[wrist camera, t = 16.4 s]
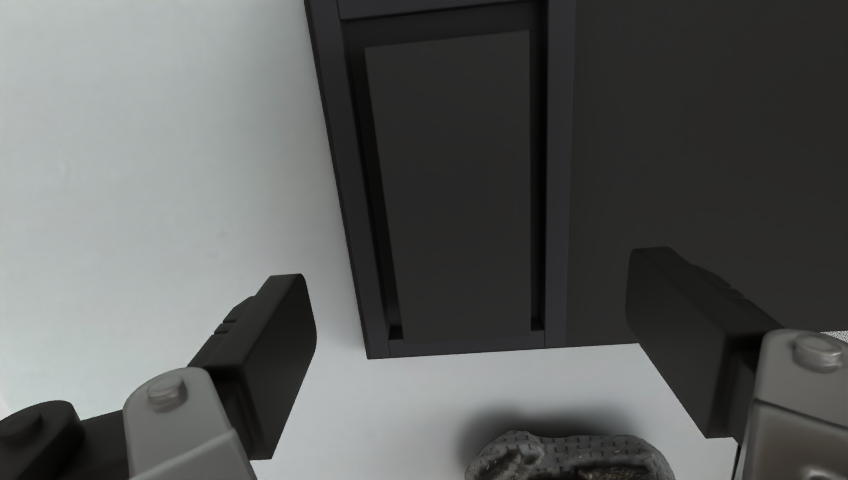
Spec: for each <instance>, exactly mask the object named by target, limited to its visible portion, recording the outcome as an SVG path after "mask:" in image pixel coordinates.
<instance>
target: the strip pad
mask: <svg viewBox="0 0 848 480" xmlns="http://www.w3.org/2000/svg"><path fill="white" fill-rule="evenodd" d="M364 54H365V61H366V69H367V76H368V83H369V90H370V98H371V105H372V112H373V120H374V127H375V134H376V142H377V149H378V156H379V163H380V171H381V178H382V185H383V193H384V200H385V207H386V215H387V222H388V229H389V237H390V244H391V251H392V258H393V266H394V273H395V280H396V288H397V295H398V302H399V310H400V317H401V324H402V331H403V339H404V343H405V344H417V343H433V342H449V341H465V340H481V339H496V338H512V337H528V336H530V335H531V284H530V93H529V31H528V30H523V31H514V32H505V33H495V34H486V35H477V36H467V37H458V38H449V39H439V40H430V41H420V42H411V43H402V44H392V45H383V46H374V47H366V48H364Z"/></svg>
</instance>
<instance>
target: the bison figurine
mask: <svg viewBox="0 0 848 480" xmlns="http://www.w3.org/2000/svg"><path fill="white" fill-rule="evenodd" d="M465 480H675V476H674V473H673V471H672V469H671V467H670V465H669V463H668V462H667V460H666V459H665V457H664V456H663V455H662V453H661V452H660V451H659V450H657V449H656V448H655V447H654V446H652V445H651V444H649V443H647V442H646V441H645V440H643V439H640V438H638V437H635V436H630V435H616V436H586V435H574V436H570V437H564V438H544V437H538V436H534V435H531V434H530V433H529V432H528V431H522V432H519V431H507V432H506V433H505V434H503V435H502V436H500V437H499V438H497V439H495V440H493V441H492V442H490V443H489V444H488V445H486V446H485V447H484V448H483V449H482V450H481V452H480V453H479V454H478V455H477V456H476V457H475V459H474V460H473V461H472V462H471V463H470V465H469V466H468V468H467V469H466V472H465Z"/></svg>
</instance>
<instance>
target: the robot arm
mask: <svg viewBox="0 0 848 480" xmlns="http://www.w3.org/2000/svg"><path fill="white" fill-rule="evenodd" d="M625 316H626V321H627V324H628V327H629V329H630V331H631V333H632V334H633V336H634V337H635V339H636V340H637V341H638V343H639V344H640V346H641V347H642V349H643V350H644V351H645V353H646V354H647V356H648V357H649V359H650V360H651V361H652V363H653V364H654V366H655V367H656V368H657V370H658V371H659V373H660V374H661V376H662V377H663V378H664V380H665V381H666V383H667V384H668V386H669V387H670V388H671V390H672V391H673V393H674V394H675V395H676V397H677V398H678V400H679V401H680V403H681V404H682V405H683V407H684V408H685V410H686V411H687V413H688V414H689V415H690V417H691V418H692V420H693V421H694V422H695V424H696V425H697V427H698V428H699V430H700V431H701V432H702V434H703V435H704V437H705V438H706V439H707V438H727V437H733V438H734V439H735V440H736V442H737V443H738V446H737V450H736V454H735V458H734V464H733V469H732V474H731V480H848V343H847V342H845V341H842V340H840V339H837V338H835V337H832V336H829V335H826V334H822V333H819V332H814V331H809V330H803V329H786V328H785V327H784V326H782V325H781V324H780V323H778V322H777V321H776V320H775V319H773V318H772V317H771V316H769V315H768V314H767V313H766V312H764V311H763V310H762V309H761V308H759V307H758V306H757V305H755V304H754V303H753V302H752V301H750V300H749V299H745V296H744V295H743V294H741V293H740V292H739V291H738V290H736V289H732V286H731V285H730V284H729V283H727V282H726V281H725V280H723V279H722V278H721V277H720V276H718V275H717V274H715V273H713V272H710V271H708V270H706V269H703V268H701V267H699V266H696V265H691V264H690V263H689V262H687V261H686V260H685V259H684V258H683V257H681V256H680V255H679V254H678V253H676V252H675V251H674V250H673V249H672V248H670V247H668V246H664V247H651V248H638V249H633V250H632V252H631V254H630V258H629V267H628V278H627V289H626V299H625ZM316 342H317V332H316V325H315V321H314V316H313V312H312V307H311V303H310V298H309V294H308V289H307V285H306V281H305V278H304V276H303V275H302V274H287V275H273V276H270V277H269V278H268V279H267V280H266V282H265V283H264V284H263V286H262V287H261V288H260V290H259V291H258V292H257V294H256V295H255V296H250V297H248V298H247V299H246V300H244V301H243V302H241V303H240V304H238V305H237V306H235V307H234V308H233V309H232V310H231V311H230V313H229V314H228V315H227V316H226V318H225V319H224V320H223V324H220V325H219V326H218V328H217V329H216V330H215V331H214V335H211V337H210V338H209V339H208V340H207V342H206V343H205V344H204V345H203V347H202V348H201V349H200V350H199V352H198V353H197V354H196V355H195V357H194V358H193V359H192V360H191V362H190V363H189V364H188V365H187V367H185V368H179V369H175V370H171V371H168V372H165V373H163V374H160V375H158V376H156V377H154V378H152V379H150V380H149V381H147V382H146V383H144V384H142V385H141V386H140V387H139V388H137V389H136V390H135V391H134V392H133V393H132V394H131V395H130V396H129V397H128V399H127V400H126V402H125V404H124V407H123V409H122V410H119V411H115V412H111V413H108V414H104V415H100V416H97V417H93V418H89V419H86V420H82V421H80V419H79V417H78V415H77V413H76V411H75V409H74V407H73V405H72V404H71V403H70V402H67V401H62V400H55V401H48V402H43V403H39V404H36V405H33V406H30V407H27V408H25V409H22V410H20V411H18V412H16V413H14V414H12V415H10V416H8V417H6V418H4V419H3V420H1V421H0V480H257V477H256V475H255V473H254V471H253V468H252V466H251V464H250V461H249V460H267V459H272V456H273V454H274V451H275V449H276V447H277V444H278V442H279V439H280V437H281V434H282V432H283V429H284V427H285V424H286V422H287V419H288V417H289V414H290V412H291V409H292V407H293V404H294V402H295V399H296V397H297V395H298V392H299V390H300V387H301V385H302V382H303V380H304V377H305V375H306V372H307V370H308V367H309V365H310V362H311V360H312V357H313V355H314V352H315V349H316Z"/></svg>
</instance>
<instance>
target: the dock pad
mask: <svg viewBox="0 0 848 480" xmlns="http://www.w3.org/2000/svg"><path fill="white" fill-rule="evenodd" d="M304 5H305V10H306V16H307V22H308V27H309V33H310V38H311V44H312V50H313V55H314V61H315V67H316V72H317V78H318V84H319V89H320V95H321V101H322V106H323V112H324V118H325V123H326V129H327V134H328V140H329V146H330V151H331V157H332V163H333V168H334V174H335V180H336V185H337V191H338V197H339V202H340V208H341V214H342V219H343V225H344V230H345V236H346V242H347V247H348V253H349V259H350V264H351V270H352V276H353V281H354V287H355V293H356V298H357V304H358V310H359V315H360V321H361V326H362V332H363V338H364V343H365V349H366V355H367V359H384V358H400V357H417V356H433V355H450V354H466V353H483V352H500V351H516V350H533V349H549V348H566V347H582V346H599V345H615V344H632V343H638V341H637V340H636V339H635V337H634V336H633V334H632V333H631V331H630V329H629V327H628V324H627V321H626V316H625V299H626V289H627V278H628V267H629V258H630V254H631V252H632V250H633V249H638V248H651V247H664V246H668V247H670V248H672V249H673V250H674V251H675V252H676V253H678V254H679V255H680V256H681V257H683V258H684V259H685V260H686V261H687V262H689V263H690V264H691V265H696V266H699V267H701V268H703V269H706V270H708V271H710V272H713V273H715V274H717V275H718V276H720V277H721V278H722V279H723V280H725V281H726V282H727V283H729V284H730V285H731V286H732V289H736V290H738V291H739V292H740V293H741V294H743V295H744V296H745V299H749V300H750V301H752V302H753V303H754V304H755V305H757V306H758V307H759V308H761V309H762V310H763V311H764V312H766V313H767V314H768V315H769V316H771V317H772V318H773V319H775V320H776V321H777V322H778V323H780V324H781V325H782V326H784V327H785V328H786V329H803V330H809V331H814V332H831V331H847V330H848V0H304ZM523 30H528V31H529V93H530V284H531V335H530V336H528V337H512V338H496V339H481V340H465V341H449V342H433V343H417V344H405V343H404V339H403V331H402V324H401V317H400V310H399V302H398V295H397V288H396V280H395V273H394V266H393V258H392V251H391V244H390V237H389V229H388V222H387V215H386V207H385V200H384V193H383V185H382V178H381V171H380V163H379V156H378V149H377V142H376V134H375V127H374V120H373V112H372V105H371V98H370V90H369V83H368V76H367V69H366V61H365V54H364V48H366V47H374V46H383V45H392V44H402V43H411V42H420V41H430V40H439V39H449V38H458V37H467V36H477V35H486V34H495V33H505V32H514V31H523Z"/></svg>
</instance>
